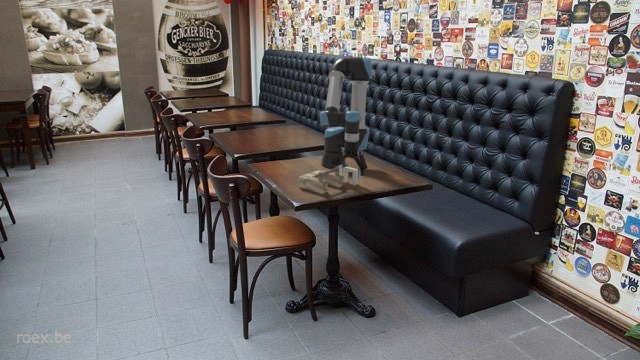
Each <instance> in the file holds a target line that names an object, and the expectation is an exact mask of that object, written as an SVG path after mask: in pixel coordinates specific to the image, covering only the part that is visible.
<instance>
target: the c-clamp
mask: <svg viewBox="0 0 640 360" xmlns="http://www.w3.org/2000/svg"><path fill="white" fill-rule="evenodd" d="M344 184H345V183H344V175H343V174H342V175H341V174H339V167H338V166H337V167H335V168H331V169H328V170H324V169H316V170H314V171H311V172H309V173H306V174H302V175H299V176H298V188H300V189H304V190H307V191H311V192H314V193H318V194H320V195H324V194H325V193H328V186H331V187H336V188H342V187H343V186H344Z"/></svg>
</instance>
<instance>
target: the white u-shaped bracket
mask: <svg viewBox="0 0 640 360" xmlns="http://www.w3.org/2000/svg"><path fill="white" fill-rule="evenodd" d="M349 173H352V176H351V177H352V180H351V181H352V182H351V185H352V186H357V185H358V184H359V182H358V180H359V168H355V167H351V166H346V165H345V166H344V167H342V175H344V184H346V183H348V182H349Z"/></svg>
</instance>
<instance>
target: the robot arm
mask: <svg viewBox="0 0 640 360" xmlns="http://www.w3.org/2000/svg"><path fill="white" fill-rule="evenodd" d="M372 67H373V66H372V62H371V59H370V58H367V57H346V56H345V57H342V58H340V59H338V60H336V61H335V62H334V63H333V65H332V66H331V68H329V72H328V79H329V83H328V89H327V97H326V101H325V109H324V110H321V111H320V113H319V114H320V116H319V122H320V125H323V126H332V127H328V128H326V130H325V131H324V152H323V156H322V159H321V163H320V164H321V166H322V167H324V168H331V169H334V168H335V167H337V166H338V167H339V174H341V175H343V167H346V165H347V161H346V159H347V158H350V159H353V160H354V161H355V164H357V166H358V183H361V182H363V178H364V177H363V176H365V170H368V165H367V161H366V159H365V157H364V151H363V150H366V149H367V145H368V141H369V137H370V131H369V130H368V127H367V126H366V122H365V121H366V107H367V106H366V105H367V104H366V103H367V88H368V87H367V85H368V84H369V82H370V79H371V80H372V79H373V70H372ZM346 78H347V79H349V82H350V83H351V99H350V100H351V102H350V104H351V105H350V110H347V111H339V110H340V103H341V96H342V88H343V82H344V81H345V79H346Z"/></svg>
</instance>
